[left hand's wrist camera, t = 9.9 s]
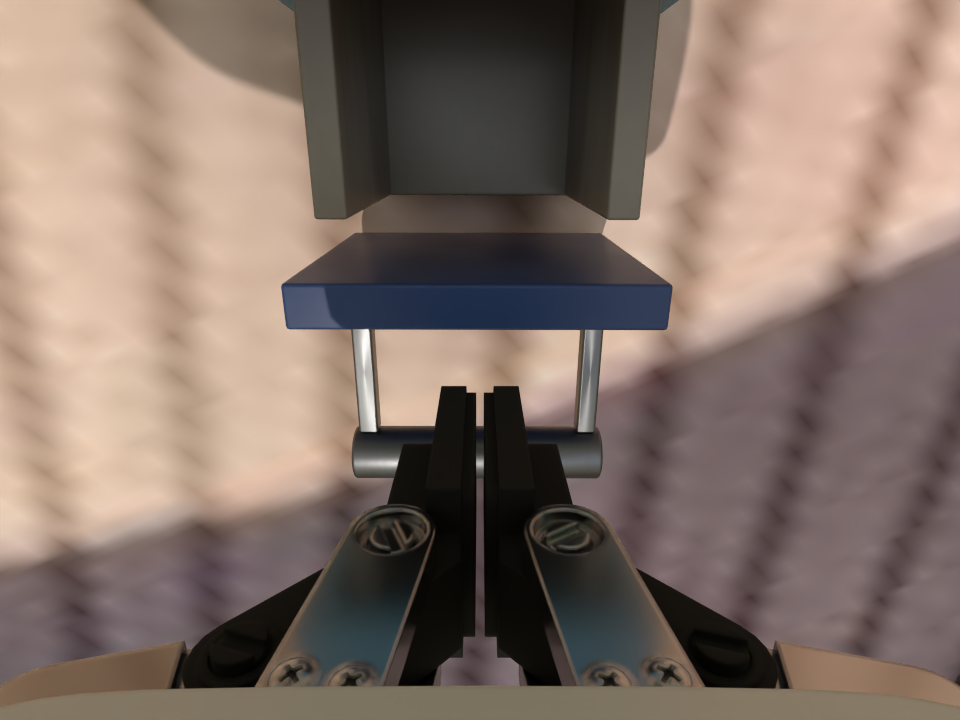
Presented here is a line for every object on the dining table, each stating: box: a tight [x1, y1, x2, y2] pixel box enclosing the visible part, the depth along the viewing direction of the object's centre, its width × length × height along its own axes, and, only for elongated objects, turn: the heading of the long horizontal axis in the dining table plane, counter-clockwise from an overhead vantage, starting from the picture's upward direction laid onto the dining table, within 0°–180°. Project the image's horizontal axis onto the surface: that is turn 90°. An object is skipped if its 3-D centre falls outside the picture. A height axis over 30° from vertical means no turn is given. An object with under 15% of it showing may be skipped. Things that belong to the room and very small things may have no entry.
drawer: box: [281, 0, 672, 478], centre depth 17 cm, size 18×10×9 cm, turn 0°
